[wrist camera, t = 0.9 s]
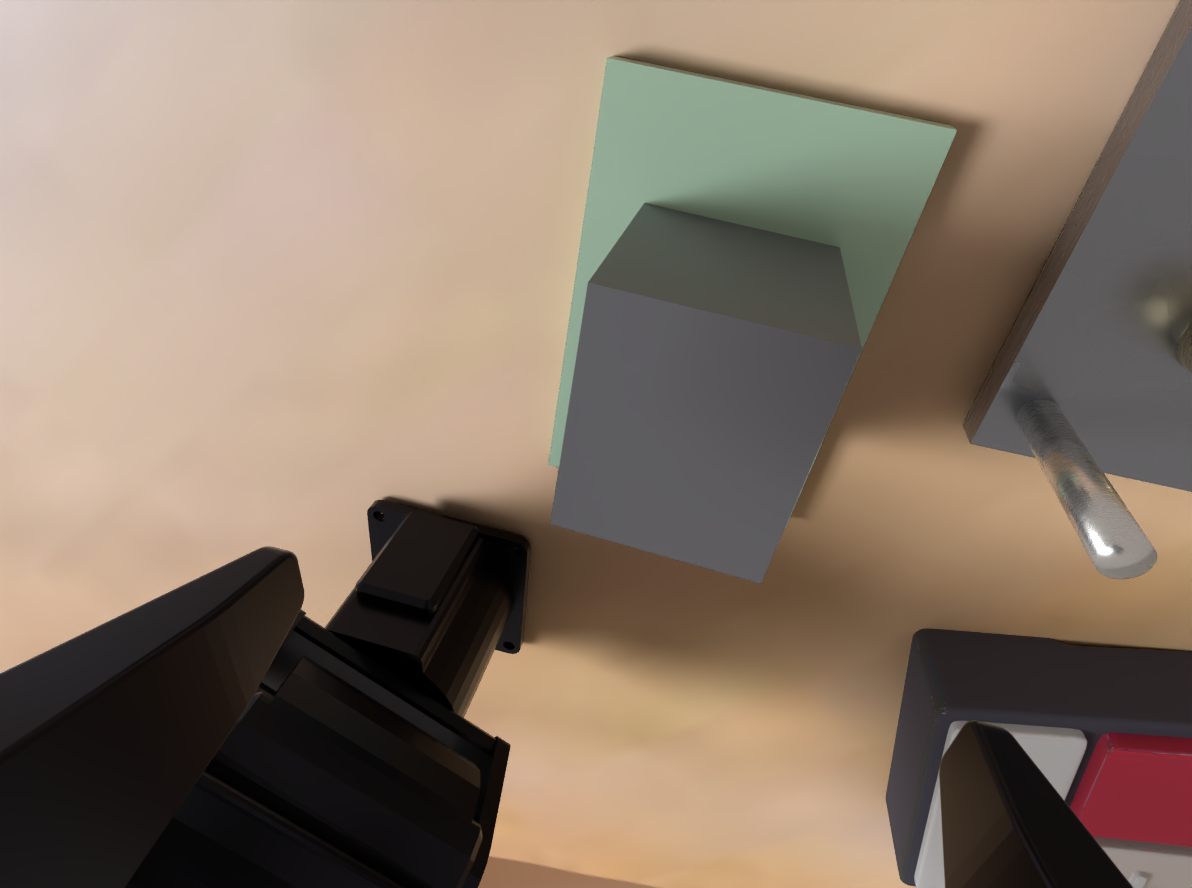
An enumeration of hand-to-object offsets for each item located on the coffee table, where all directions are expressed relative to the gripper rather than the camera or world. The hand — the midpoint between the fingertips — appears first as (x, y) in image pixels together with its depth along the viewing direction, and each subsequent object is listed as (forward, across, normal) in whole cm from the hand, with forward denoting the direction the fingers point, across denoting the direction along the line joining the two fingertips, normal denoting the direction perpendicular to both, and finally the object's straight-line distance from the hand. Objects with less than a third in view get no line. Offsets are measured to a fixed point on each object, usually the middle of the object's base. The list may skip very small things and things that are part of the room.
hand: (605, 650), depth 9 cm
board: (+13, 0, 0) cm, 13 cm away
